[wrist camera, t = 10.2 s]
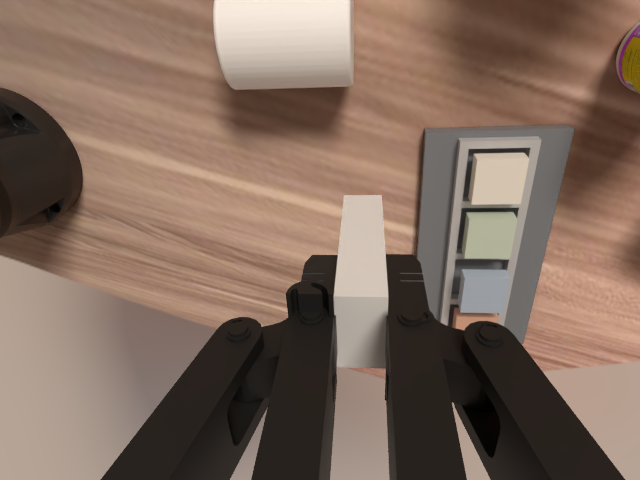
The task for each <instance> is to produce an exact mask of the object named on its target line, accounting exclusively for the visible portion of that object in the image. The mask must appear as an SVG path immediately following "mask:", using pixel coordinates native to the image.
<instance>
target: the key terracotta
mask: <svg viewBox="0 0 640 480" xmlns="http://www.w3.org/2000/svg"><path fill="white" fill-rule="evenodd" d="M498 319H499V317H498V314H497V313H460V310H459V308H454V315H453V323H452V327H453V328H457V329H461V330H465V328H466V327H467V326H468V325H469V324H470V323H474V322H477V321H490V322H494V323H498Z"/></svg>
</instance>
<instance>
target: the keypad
mask: <svg viewBox="0 0 640 480" xmlns="http://www.w3.org/2000/svg"><path fill="white" fill-rule="evenodd" d="M574 129H575V128H574V127H572V126H571V125H532V126H495V127H458V128H425V129H424V144H423V160H422V175H421V191H420V207H419V222H418V238H417V253H416V258H417V260H418V261H419V262H420V263H421V268H422V274H423V279H424V284H425V289H426V295H427V300H428V305H429V310H430V311H431V312H432V313H433V315H434V317H435V319H436V320H438V321H439V322H441V323H442V324H444V325H447V326H450V327H452V323H453V315H454V308H459V306H458V297H459V289H460V281H461V273H462V269H479V270H507V272H508V274H509V276H510V278H511V280H510V285H509V290H508V295H507V300H506V305H505V310H504V313H497V314H498V317H499V319H498V324H500V325H502V326H504V327H506V328H507V329H509V330H510V331H511V332H512V333H513V334H514V335H515V337H516V338H517V339H518V341H519V342H520V343H521V344H523V343H524V338H525V334H526V330H527V326H528V322H529V318H530V313H531V309H532V305H533V301H534V297H535V292H536V288H537V284H538V280H539V276H540V271H541V267H542V263H543V259H544V255H545V251H546V246H547V242H548V238H549V234H550V230H551V225H552V221H553V217H554V213H555V209H556V205H557V200H558V196H559V192H560V188H561V184H562V179H563V175H564V171H565V167H566V163H567V159H568V154H569V150H570V146H571V142H572V138H573V133H574ZM478 153H525V154H526V155H527V157H528V158H529V164H528V169H527V174H526V179H525V184H524V190H523V195H522V200H521V204H487V205H471V202H470V200H469V198H468V195H469V187H470V179H471V171H472V163H473V155H474V154H478ZM466 212H513V213H514V214H515V216H516V218H517V219H518V221H517V226H516V231H515V236H514V241H513V247H512V252H511V257H510V259H469V258H464V256H463V253H462V243H463V235H464V227H465V219H466Z"/></svg>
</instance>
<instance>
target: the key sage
mask: <svg viewBox="0 0 640 480" xmlns="http://www.w3.org/2000/svg"><path fill="white" fill-rule="evenodd" d="M517 221H518V219H517V218H516V216H515V214H514V213H513V212H466V219H465V227H464V235H463V243H462V253H463V256H464V258H469V259H510V257H511V252H512V247H513V241H514V236H515V231H516V226H517Z"/></svg>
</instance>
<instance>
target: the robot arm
mask: <svg viewBox="0 0 640 480" xmlns="http://www.w3.org/2000/svg"><path fill="white" fill-rule="evenodd" d="M81 186H82V172H81V166H80V162H79V159H78V156H77V153H76V151H75V149H74V146H73V145H72V143H71V141H70V139H69V138H68V136H67V135H66V133H65V132H64V130H63V129H62V128H61V127H60V125H59V124H58V123H57V122H56V121H55V120H54V119H53V118H52V117H51V116H50V115H49V114H48V113H47V112H46V111H45V110H43V109H42V108H41V107H40V106H38V105H37V104H35V103H34V102H32V101H31V100H29V99H28V98H26V97H24V96H22V95H20V94H18V93H16V92H13V91H10V90H7V89H4V88H0V238H1V237H3V236H7V235H11V234H15V233H19V232H23V231H26V230H30V229H34V228H38V227H42V226H45V225H47V224H49V223H51V222H53V221H55V220H57V219H58V218H59V217H61V216H62V215H63V214H64V213H66V212H67V211H68V210H70V209H71V208H72V206H73V205H74V204H75V202H76V201H77V199H78V197H79V194H80V191H81ZM286 299H287V308H288V318H287V319H286V320H284V321H282V322H280V323H277V324H274V325H269V326H264V327H261V324H260V323H259V322H258V321H257V320H254V319H252V318H248V317H239V318H234V319H231V320H229V321H227V322H225V323H223V324H222V325H221V326H220V327H219V328H218V329H217V330H216V332H215V333H214V334H213V335H212V337H211V338H210V339H209V341H208V342H207V343H206V345H205V346H204V347H203V348H202V350H201V351H200V352H199V353H198V355H197V356H196V357H195V359H194V360H193V361H192V362H191V364H190V365H189V366H188V368H187V369H186V370H185V372H184V373H183V374H182V375H181V377H180V378H179V379H178V381H177V382H176V383H175V384H174V386H173V387H172V388H171V390H170V391H169V392H168V393H167V395H166V396H165V397H164V399H163V400H162V401H161V403H160V404H159V405H158V406H157V408H156V409H155V410H154V412H153V413H152V414H151V416H150V417H149V418H148V419H147V421H146V422H145V423H144V425H143V426H142V427H141V428H140V430H139V431H138V432H137V434H136V435H135V436H134V437H133V439H132V440H131V441H130V443H129V444H128V445H127V447H126V448H125V449H124V450H123V452H122V453H121V454H120V456H119V457H118V458H117V459H116V461H115V462H114V463H113V465H112V466H111V467H110V468H109V470H108V471H107V472H106V474H105V475H104V476H103V477H102V479H101V480H230V478H231V476H232V474H233V472H234V470H235V468H236V466H237V464H238V463H239V460H240V459H241V457H242V455H243V453H244V451H245V449H246V447H247V445H248V443H249V441H250V440H251V437H252V436H253V434H254V432H255V430H256V428H257V426H258V424H259V422H260V420H261V418H262V417H263V415H264V413H265V411H266V409H267V407H268V409H267V413H266V417H265V422H264V427H263V431H262V435H261V440H260V444H259V448H258V453H257V457H256V461H255V466H254V471H253V475H252V480H330V470H331V455H332V442H333V441H332V440H333V427H334V413H335V399H336V384H337V375H336V366H337V367H355V368H386V384H385V400H386V405H387V426H388V449H389V450H388V452H389V474H390V480H467V479H466V474H465V468H464V463H463V458H462V453H461V448H460V443H459V438H458V433H457V427H456V423H455V418H454V412H453V408H452V402H453V403H454V405H455V408H456V410H457V412H458V414H459V417H460V419H461V420H462V423H463V424H464V427H465V429H466V431H467V433H468V435H469V437H470V439H471V441H472V443H473V444H474V447H475V449H476V451H477V453H478V455H479V457H480V459H481V461H482V463H483V465H484V467H485V469H486V471H487V473H488V475H489V477H490V479H491V480H625V479H624V478H623V476H622V475H621V474H620V472H619V471H618V470H617V469H616V467H615V466H614V465H613V463H612V462H611V461H610V459H609V458H608V457H607V455H606V454H605V453H604V451H603V450H602V449H601V448H600V446H599V445H598V444H597V442H596V441H595V440H594V438H593V437H592V436H591V435H590V433H589V432H588V431H587V429H586V428H585V427H584V425H583V424H582V423H581V421H580V420H579V419H578V418H577V416H576V415H575V414H574V412H573V411H572V410H571V409H570V407H569V406H568V405H567V403H566V402H565V401H564V399H563V398H562V397H561V395H560V394H559V393H558V392H557V390H556V389H555V388H554V386H553V385H552V384H551V383H550V381H549V380H548V378H547V377H546V376H545V375H544V373H543V372H542V371H541V369H540V368H539V367H538V365H537V364H536V363H535V362H534V360H533V359H532V358H531V356H530V355H529V354H528V352H527V351H526V350H525V348H524V347H523V346H522V345H521V343H520V342H519V341H518V339H517V338H516V337H515V335H514V334H513V333H512V332H511V331H510V330H509V329H507V328H506V327H504V326H502V325H500V324H498V323H494V322H490V321H477V322H474V323H470V324H469V325H468V326H467V327H466V328H465V330H461V329H457V328H453V327H450V326H447V325H444V324H442V323H441V322H439V321H438V320H436V319H435V317H434V315H433V313H432V312H431V311H430V310H429V305H428V300H427V295H426V289H425V284H424V279H423V274H422V268H421V263H420V262H419V261H418V260H417V258H416V257H415V256H414V255H399V254H386V253H385V238H384V223H383V209H382V195H344V201H343V211H342V221H341V230H340V240H339V249H338V255H312V256H311V257H310V258H309V259H308V260H307V261H306V262H305V265H304V270H303V274H302V279H301V282H299V283H296V284H294V285H293V286H291V287H290V288H289V289H288V291H287V293H286Z"/></svg>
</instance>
